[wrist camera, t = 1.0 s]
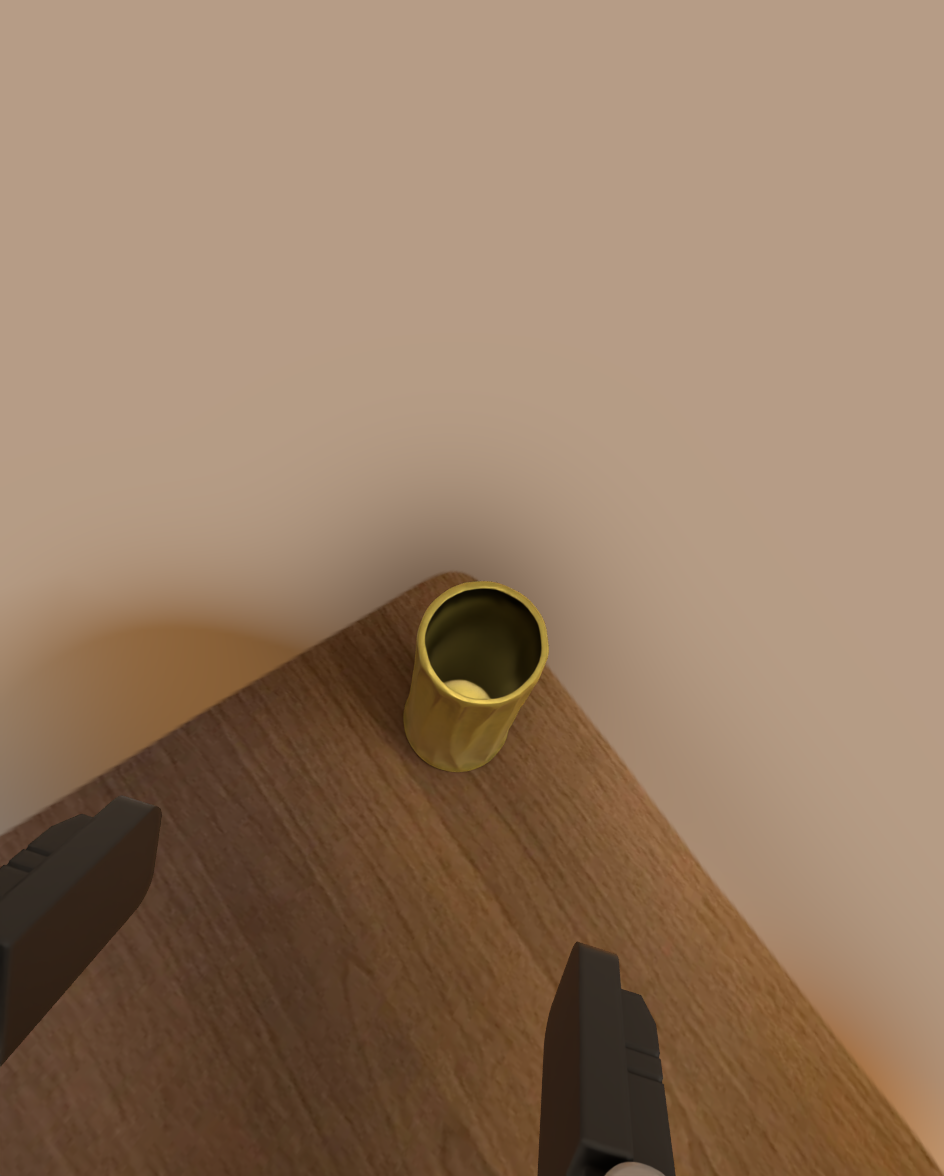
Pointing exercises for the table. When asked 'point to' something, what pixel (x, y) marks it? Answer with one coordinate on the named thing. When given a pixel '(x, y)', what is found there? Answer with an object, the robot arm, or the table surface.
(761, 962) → the table surface
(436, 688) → the vase
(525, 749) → the table surface
